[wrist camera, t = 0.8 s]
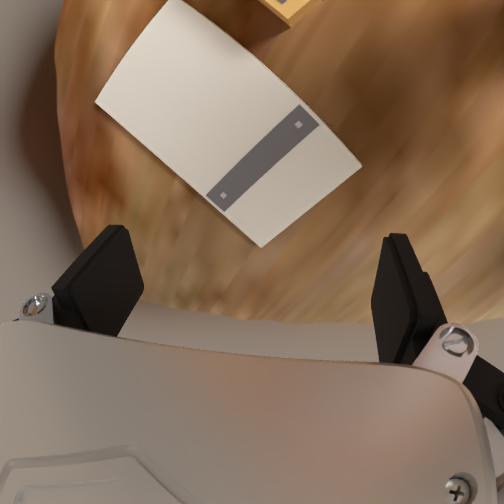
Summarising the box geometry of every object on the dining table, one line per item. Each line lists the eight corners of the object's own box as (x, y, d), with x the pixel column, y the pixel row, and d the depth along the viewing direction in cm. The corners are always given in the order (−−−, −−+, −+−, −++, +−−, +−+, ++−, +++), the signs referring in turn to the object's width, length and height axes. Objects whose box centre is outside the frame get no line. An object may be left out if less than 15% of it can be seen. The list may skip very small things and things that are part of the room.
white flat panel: (177, -4, 26) (172, -6, 25) (360, 163, 34) (362, 166, 33) (100, 100, 34) (94, 102, 33) (262, 243, 42) (260, 248, 41)
